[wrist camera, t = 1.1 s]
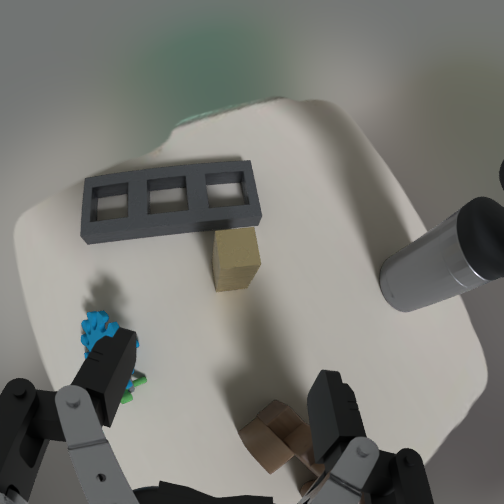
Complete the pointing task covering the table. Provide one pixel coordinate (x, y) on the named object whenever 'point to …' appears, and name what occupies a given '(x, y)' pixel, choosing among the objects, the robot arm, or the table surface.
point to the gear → (97, 331)
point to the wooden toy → (281, 440)
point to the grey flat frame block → (170, 222)
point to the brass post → (235, 258)
